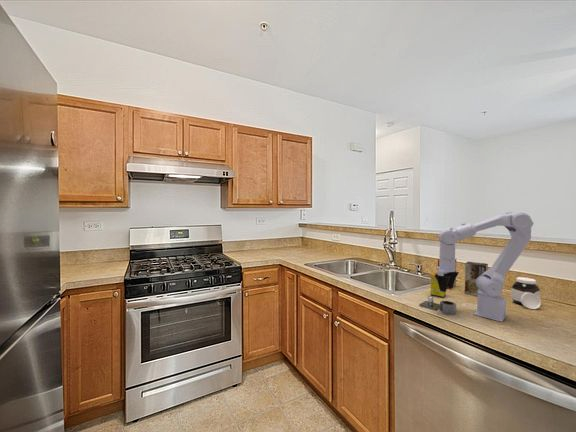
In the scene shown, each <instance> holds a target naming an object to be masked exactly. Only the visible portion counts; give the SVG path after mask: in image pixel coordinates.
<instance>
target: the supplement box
mask: <svg viewBox="0 0 576 432" xmlns="http://www.w3.org/2000/svg"><path fill="white" fill-rule="evenodd" d="M436 273H437V274H438V272H435V271H434V272H432V273H431V274H430V296H432V297H436V298H441V299H444V298H445V296H447V295H446V292H447V291H446V292H442V291H440V289H439V284H438V281H437V279H436V277H435V274H436Z"/></svg>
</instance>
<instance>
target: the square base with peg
mask: <svg viewBox="0 0 576 432" xmlns="http://www.w3.org/2000/svg"><path fill="white" fill-rule="evenodd" d="M434 297H435V296H431V295H428V296H427V300H424V301H422V302H421V303H419V305H418V306H419V307H421V308H425V309H428V310H432V311H438V310H440V303H436V302H434Z"/></svg>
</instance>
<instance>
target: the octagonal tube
mask: <svg viewBox="0 0 576 432" xmlns="http://www.w3.org/2000/svg"><path fill="white" fill-rule="evenodd" d="M439 304H440V308H439V311H440V313H441V314H445V315H449V316H451V315H453V316H455V315H456V314H457V303H455V302H453V301H450V300H441V301H439Z"/></svg>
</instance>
